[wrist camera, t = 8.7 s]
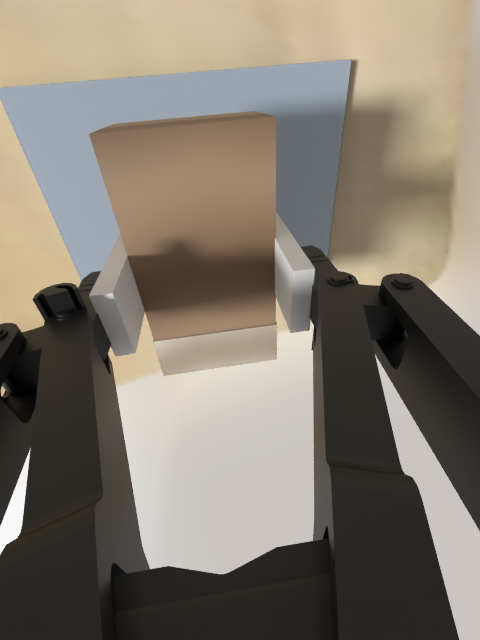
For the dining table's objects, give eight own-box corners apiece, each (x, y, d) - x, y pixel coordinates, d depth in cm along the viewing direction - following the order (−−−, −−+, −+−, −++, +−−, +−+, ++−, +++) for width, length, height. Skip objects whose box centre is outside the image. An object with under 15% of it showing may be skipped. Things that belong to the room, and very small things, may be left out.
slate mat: (92, 297, 26) (90, 301, 25) (0, 88, 17) (-5, 88, 16) (323, 268, 27) (325, 271, 26) (347, 59, 18) (351, 59, 18)
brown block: (112, 123, 13) (86, 134, 9) (255, 110, 13) (278, 116, 10) (167, 328, 19) (163, 375, 16) (262, 315, 20) (276, 359, 16)
